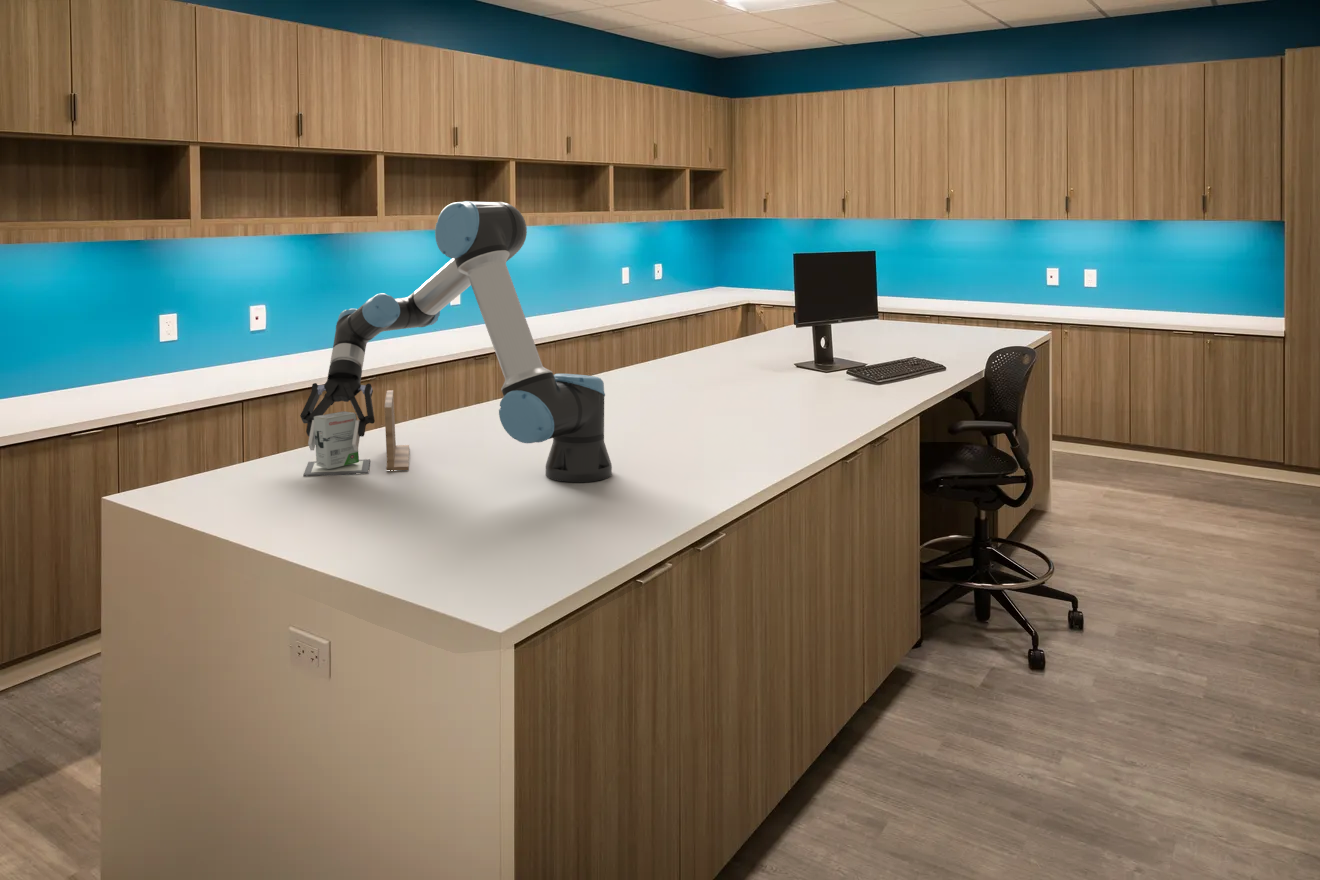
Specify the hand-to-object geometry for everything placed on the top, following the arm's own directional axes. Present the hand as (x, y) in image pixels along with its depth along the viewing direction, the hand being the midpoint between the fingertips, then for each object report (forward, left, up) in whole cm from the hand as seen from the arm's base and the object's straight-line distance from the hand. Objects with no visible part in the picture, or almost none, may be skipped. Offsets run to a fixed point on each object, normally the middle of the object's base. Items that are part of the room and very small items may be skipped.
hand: (333, 447), depth 236 cm
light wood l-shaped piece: (+9, -14, -6) cm, 18 cm away
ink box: (+3, -1, -5) cm, 6 cm away
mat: (+3, -1, -6) cm, 7 cm away
